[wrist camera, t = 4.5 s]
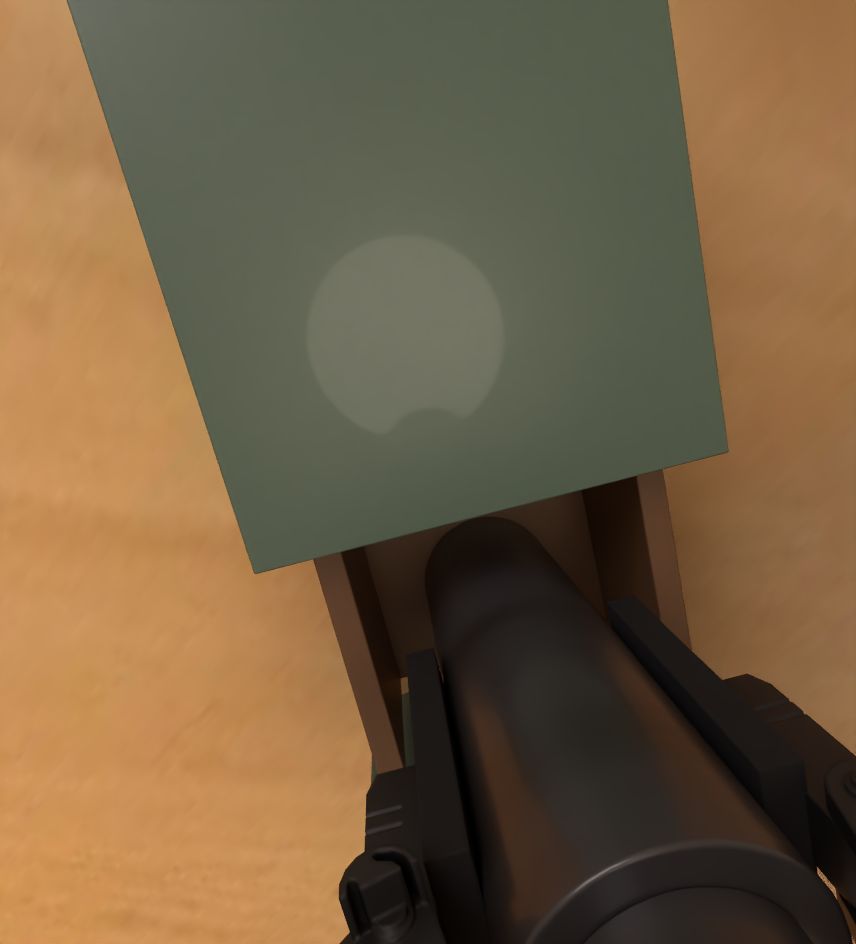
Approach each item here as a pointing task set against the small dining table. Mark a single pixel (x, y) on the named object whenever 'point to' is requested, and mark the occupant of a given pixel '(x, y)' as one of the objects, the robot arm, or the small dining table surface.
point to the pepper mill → (596, 773)
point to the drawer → (406, 605)
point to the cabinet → (415, 250)
